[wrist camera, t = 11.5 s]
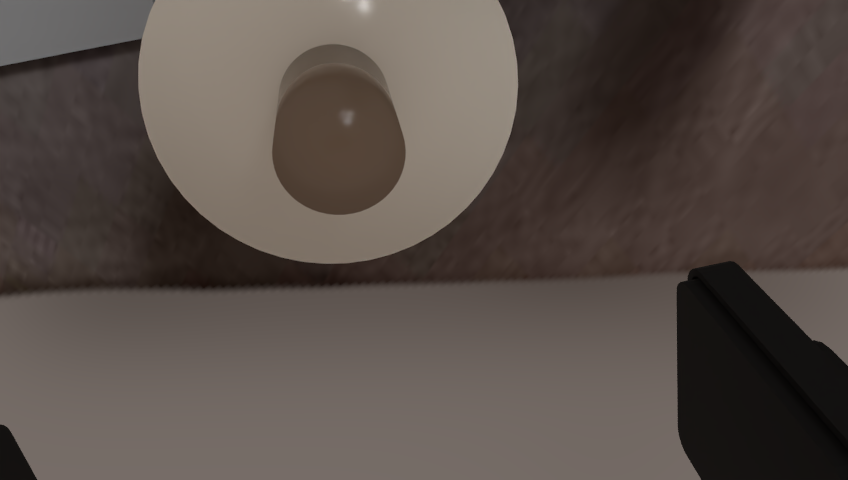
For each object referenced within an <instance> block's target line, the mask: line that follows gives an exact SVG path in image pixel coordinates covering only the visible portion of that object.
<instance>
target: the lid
mask: <svg viewBox="0 0 848 480" xmlns="http://www.w3.org/2000/svg"><path fill="white" fill-rule="evenodd" d="M138 89H139V96H140V104H141V111H142V115H143V119H144V123H145V126H146V130H147V134H148V137H149V139H150V141H151V144H152V146H153V149H154V151H155V153H156V156H157V158H158V160H159V161H160V163H161V165H162V167H163V168H164V170H165V172H166V173H167V175H168V177H169V178H170V180H171V181H172V182H173V184H174V185H175V186H176V188H177V189H178V190H179V192H180V193H181V194H182V195H183V197H184V198H185V199H186V200H187V201H188V202H189V203H190V204H191V205H192V206H193V207H194V208H195V209H196V210H197V211H198V212H199V213H200V214H201V215H202V216H203V217H205V218H206V219H207V220H209V221H210V222H211V223H212V224H214V225H215V226H216V227H217V228H219V229H220V230H222V231H223V232H225V233H227V234H228V235H230V236H232V237H233V238H235V239H237V240H238V241H240V242H242V243H245V244H247V245H249V246H251V247H253V248H255V249H258V250H260V251H263V252H266V253H269V254H272V255H275V256H278V257H281V258H286V259H291V260H296V261H301V262H310V263H322V264H337V263H353V262H360V261H366V260H372V259H376V258H379V257H383V256H387V255H391V254H394V253H396V252H399V251H401V250H404V249H406V248H409V247H411V246H413V245H415V244H417V243H419V242H421V241H423V240H425V239H426V238H428V237H430V236H432V235H433V234H435V233H436V232H438V231H439V230H440V229H442V228H443V227H445V226H446V225H448V224H449V223H450V222H451V221H453V220H454V219H455V218H456V217H457V216H458V215H459V214H460V213H461V212H463V211H464V210H465V209H466V208H467V207H468V206H469V204H470V203H471V202H472V201H473V200H474V199H475V198H476V196H477V195H478V194H479V193H480V192H481V190H482V189H483V188H484V186H485V185H486V183H487V182H488V180H489V179H490V177H491V176H492V174H493V173H494V171H495V169H496V167H497V165H498V163H499V161H500V159H501V157H502V155H503V153H504V150H505V147H506V145H507V142H508V139H509V136H510V134H511V130H512V126H513V121H514V117H515V112H516V104H517V93H518V72H517V59H516V54H515V48H514V42H513V38H512V35H511V31H510V28H509V25H508V22H507V19H506V16H505V14H504V11H503V9H502V7H501V5H500V3H499V1H498V0H155V2H154V4H153V6H152V9H151V11H150V13H149V16H148V20H147V23H146V26H145V30H144V33H143V36H142V42H141V49H140V56H139V63H138Z"/></svg>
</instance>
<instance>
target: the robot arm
mask: <svg viewBox="0 0 848 480" xmlns="http://www.w3.org/2000/svg"><path fill="white" fill-rule="evenodd" d="M677 375H678V376H677V378H678V380H677V381H678V432H679V437H680V440H681V444H682V446H683V449H684V451H685V453H686V454H687V456H688V458H689V460H690V461H691V463H692V465H693V466H694V468H695V470H696V471H697V473H698V475H699V476H700V478H701V480H848V366H847V365H846V364H845V363H844V362H843V361H842V360H841V359H840V358H839V357H838V356H837V355H836V354H835V353H834V352H833V351H832V350H831V349H830V348H829V347H827V346H826V345H825V344H823V343H822V342H818V341H815V340H814V341H812V340H811V339H810V338H809V337H808V336H807V335H806V334H805V333H804V332H803V331H802V330H801V329H800V328H799V326H798V325H797V324H796V323H795V322H794V321H793V320H792V319H790V317H788V315H787V314H786V313H785V312H784V311H783V310H782V309H781V308H780V307H779V306H778V305H777V304H776V303H775V302H774V301H773V300H772V299H771V298H770V297H769V296H768V295H767V294H766V293H765V292H764V291H763V290H762V289H761V288H760V287H759V286H758V285H757V284H756V283H755V282H754V281H753V280H752V279H751V278H750V277H749V275H748V274H747V273H746V272H745V271H744V270H743V269H742V268H741V267H740V266H739V265H738V264H736V263H735V262H732V261H728V262H724V263H719V264H714V265H709V266H705V267H700V268H695V269H692V270H691V271H690V272H689V275H688V281H684V282H680V283H679V284H678V286H677ZM0 480H37V479H36V477H35V475H34V473H33V472H32V470H31V468H30V466H29V464H28V462H27V461H26V459H25V457H24V455H23V453H22V451H21V450H20V448H19V446H18V444H17V442H16V441H15V439H14V437H13V435H12V433H11V432H10V430H9V429H8V428H7V427H6V426H4V425H0Z"/></svg>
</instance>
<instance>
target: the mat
mask: <svg viewBox="0 0 848 480" xmlns="http://www.w3.org/2000/svg"><path fill="white" fill-rule="evenodd" d="M154 2H155V0H0V66H4V65H9V64H14V63H19V62H24V61H29V60H34V59H40V58H45V57H50V56H55V55H60V54H65V53H70V52H76V51H81V50H86V49H91V48H96V47H101V46H106V45H112V44H117V43H122V42H127V41H132V40H137V39H142V36H143V33H144V30H145V26H146V23H147V20H148V16H149V13H150V11H151V9H152V6H153V4H154Z"/></svg>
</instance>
